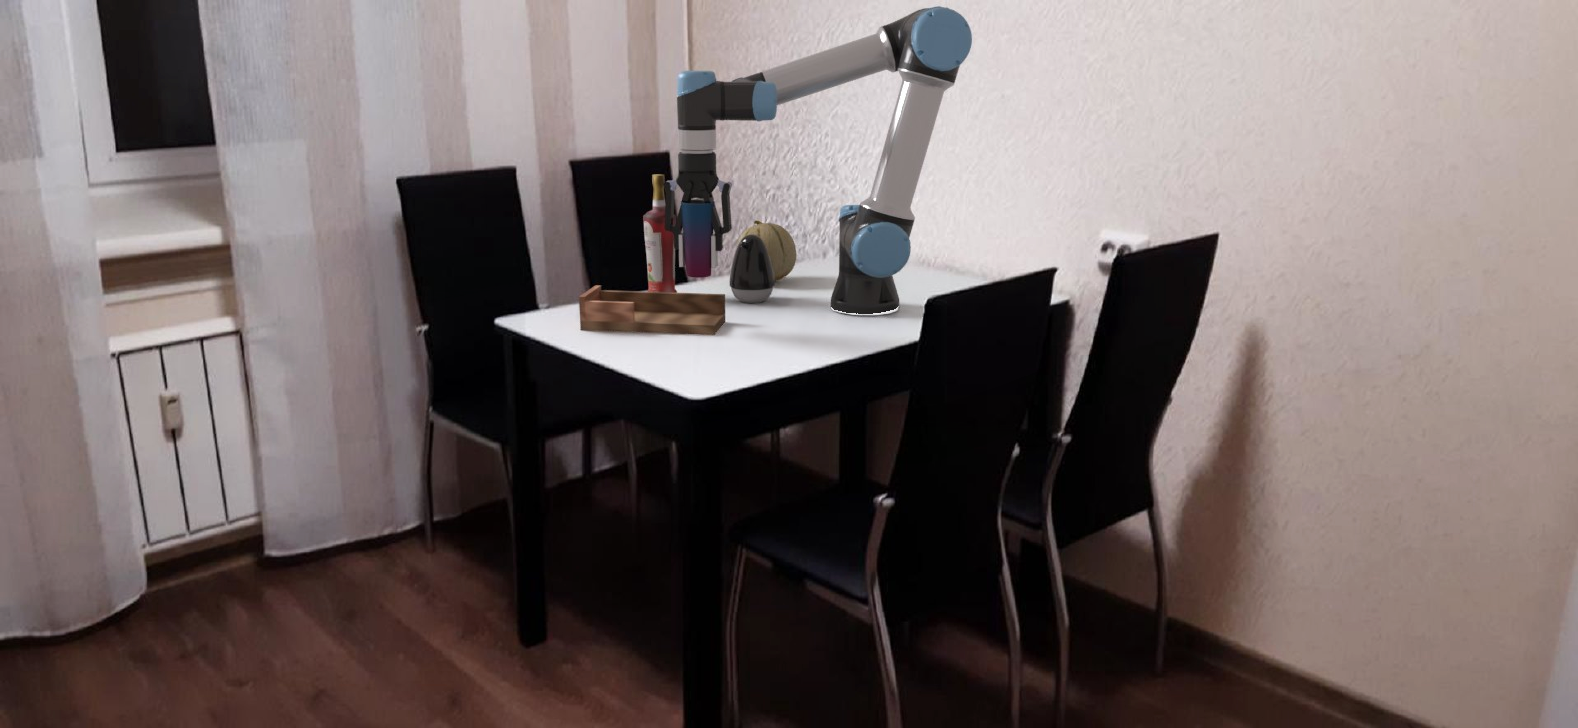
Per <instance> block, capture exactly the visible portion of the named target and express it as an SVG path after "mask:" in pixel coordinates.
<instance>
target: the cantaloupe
mask: <svg viewBox="0 0 1578 728" xmlns="http://www.w3.org/2000/svg"><path fill="white" fill-rule="evenodd" d="M753 223H754V225H753V226H750V227H748V228H747V229H745V230H744V232H743V233H742V234H741V236H740V237H739V239H738V241H737V245H736V247H737V246H738V244H739V243H740V241H741V239H742V238H743V237H745V236H746V235H750V234H754V235H757V236H759V237H760V238H761V239H762V240H763V242H764V243H765V245H766V247H767V250H768V252H769V256H770V259H771V263H772V267H773V273H774V280H775V282H776V283H777V282H778V281H780V280H782V279H784V278H785V277H787V276H788V275H789V274H790V273H791V272H792V271H793V269H794V267H795V265H796V261H797V248H796V243H795V241H794V239H793V237H792V236H791V235H792V234H790V233H789V232H788V230H787V229H786V228H785V227H783V226H781V225H779V224H778V223H777V224H776V223H773V222H772V223H771V222H766V223H764V222H761V221H760V220H754V222H753Z"/></svg>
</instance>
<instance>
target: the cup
mask: <svg viewBox="0 0 1578 728" xmlns="http://www.w3.org/2000/svg"><path fill="white" fill-rule="evenodd" d="M680 206H681V210H682V224H683V228H682V233H683V237H684V250H685V263H686V265H685V272H686V277H688V278H698V279H700V278H708V277H711V276H712V266H711V236H712V235H713V234H714V229H713V226H712V223H711V213H712V206H713V207H714V206H716V201H715V200H714V202H713V203H707V204H705V203H704V200H703V199H699V198H693V199H691V201H690V204H688V203H683V202H682V200H681V201H680Z"/></svg>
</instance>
